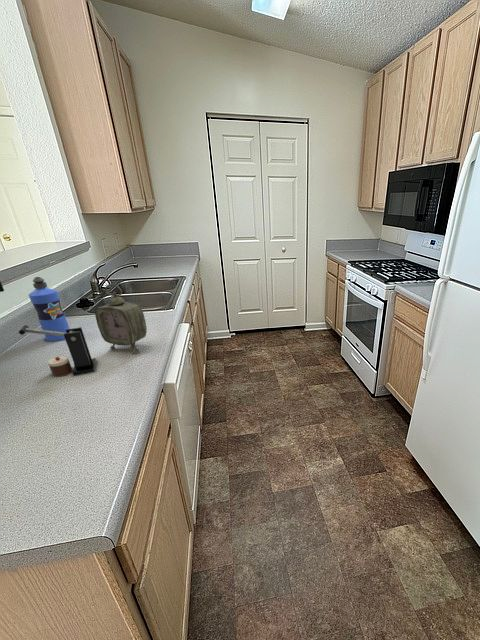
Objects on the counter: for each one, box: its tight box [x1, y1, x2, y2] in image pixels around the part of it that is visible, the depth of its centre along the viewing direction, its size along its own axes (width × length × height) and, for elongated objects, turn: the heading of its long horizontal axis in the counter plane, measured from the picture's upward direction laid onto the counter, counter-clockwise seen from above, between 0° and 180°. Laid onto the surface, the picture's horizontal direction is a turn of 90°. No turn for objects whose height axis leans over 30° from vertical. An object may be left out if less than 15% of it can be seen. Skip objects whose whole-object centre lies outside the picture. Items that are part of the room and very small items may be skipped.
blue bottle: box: [28, 276, 71, 342], centre depth 134 cm, size 9×9×25 cm
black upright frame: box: [64, 326, 97, 376], centre depth 111 cm, size 6×9×14 cm, turn 25°
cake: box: [47, 355, 73, 377], centre depth 110 cm, size 6×6×6 cm
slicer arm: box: [18, 324, 77, 336], centre depth 105 cm, size 15×5×2 cm, turn 115°
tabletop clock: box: [94, 283, 148, 354], centre depth 122 cm, size 14×9×25 cm, turn 74°
